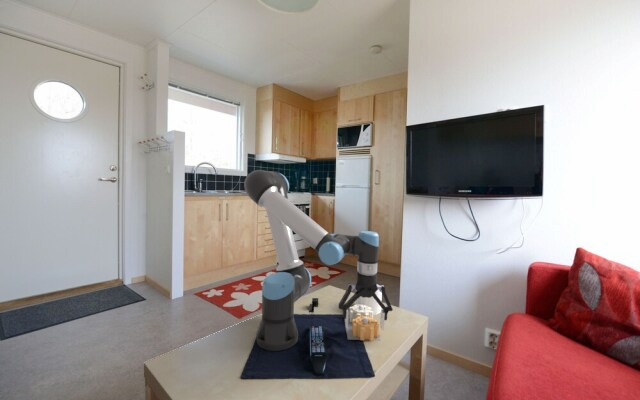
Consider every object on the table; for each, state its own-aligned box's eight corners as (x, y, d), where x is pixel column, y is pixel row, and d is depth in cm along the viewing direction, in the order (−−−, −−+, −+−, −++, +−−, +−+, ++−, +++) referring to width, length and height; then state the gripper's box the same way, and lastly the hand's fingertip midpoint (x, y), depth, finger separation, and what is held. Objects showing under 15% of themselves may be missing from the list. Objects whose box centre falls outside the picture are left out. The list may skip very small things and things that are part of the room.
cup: (379, 307, 129) (380, 283, 129) (382, 319, 118) (383, 292, 117) (354, 305, 130) (355, 281, 130) (355, 317, 119) (356, 290, 118)
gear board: (347, 343, 98) (348, 323, 98) (343, 318, 117) (343, 301, 117) (380, 344, 98) (381, 324, 98) (370, 319, 117) (371, 302, 117)
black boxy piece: (308, 303, 133) (308, 294, 133) (323, 303, 133) (323, 294, 133) (306, 315, 121) (306, 305, 121) (322, 315, 121) (323, 305, 120)
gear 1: (350, 325, 108) (351, 313, 108) (348, 314, 118) (348, 303, 118) (374, 326, 108) (375, 313, 108) (370, 314, 118) (370, 303, 118)
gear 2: (354, 340, 98) (354, 327, 98) (351, 326, 107) (351, 314, 107) (380, 341, 98) (380, 327, 98) (375, 327, 107) (375, 315, 107)
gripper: (334, 274, 98) (332, 331, 99) (403, 277, 98) (399, 333, 99) (333, 268, 105) (331, 320, 106) (397, 270, 105) (394, 323, 106)
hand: (364, 327), depth 103 cm, fingers open, 13 cm apart
